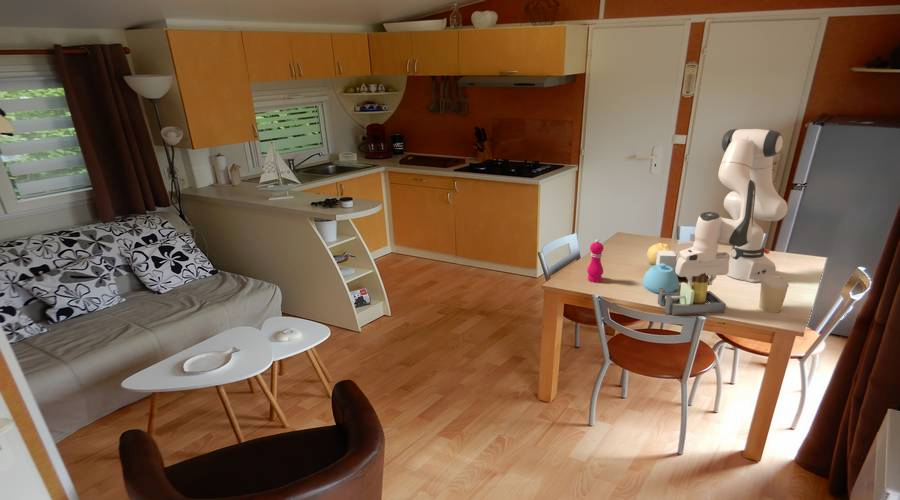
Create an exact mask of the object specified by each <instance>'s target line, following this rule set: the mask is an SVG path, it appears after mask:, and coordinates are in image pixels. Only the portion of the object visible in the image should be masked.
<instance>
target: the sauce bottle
mask: <svg viewBox="0 0 900 500" xmlns="http://www.w3.org/2000/svg"><path fill="white" fill-rule="evenodd" d="M690 279H691V278H690ZM709 279H710V277H709V276H706V274H705V273H704V274H701V275H699V276H692V279H691V281H693V282H694V284H693V286H689V287H690V288H691V289H692V290H694V291H695V292H694V299H693V304H704V303H706V302H707V301H706V295H707V291H708V287H709V285H708V280H709Z"/></svg>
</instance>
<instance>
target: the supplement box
mask: <svg viewBox="0 0 900 500" xmlns="http://www.w3.org/2000/svg"><path fill="white" fill-rule="evenodd" d="M660 263H664V264H666V265H667V266H670V267H672V268H673V270H674V271H675V269H676V264H677V254H676V252H675V251H674V250H672V251H657V259H656V265H659V264H660Z"/></svg>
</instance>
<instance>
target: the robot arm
mask: <svg viewBox="0 0 900 500" xmlns="http://www.w3.org/2000/svg"><path fill="white" fill-rule="evenodd" d="M783 138H784V137H783V135H782V134H781V132H780V131H777V130H773V129H770V130H767V129H763V128H744V129H743V128H741V129H739V128H733V129H729V130H727V131H726V132H725V133H724V134H723V137H722V139H721V140H722V141H721V149H722V151H723V152H724V154H723V156H722V160H721V162H720V164H719V165H720V166H719V169H718V174H717V175H718V176H717V178H718V180H719V181H720V183H721V185H723V186H724V187H726V188H727V189H729V190H731V191H730V192H728V194H726V196H725V197H724V200H723V208H724V209H725V211H726V212H727V213H728V214H729V215H730V216H731V218H732V219H731V218H726V217H722V216H721V215H720V214H719V213H717V212H715V211H714V212H713V211H705V212H702V213H700V214H699V216H698V217H697V221H696V224H695V228H694V242H693V244H692V246H690V247H688V248H685V249H682V250H680V251H679V254H678V255H679V256H680V257H678V258H677V259H676V266H675V273H676V275H677V277H680V278H684V277H685V278H686V280H687V285H688V286H689V287H691V286H693V284H694V282H693V281H691V279H692V276H699V275H701V274H704V273H705V274H706V276H708V277H709V276H710V277H709V280H708V286H712V285H713V282H714V280H715V279H716V278H717V276H726V275H727V276H729V277H731V278H734V279H736V280H740V281H746V282H749V283H753V284H755V283H761V280H762V279H763V278H765V277H776V278H781V275H780V273H778V271H777V270H776V264H775V263H774V262H773V261H772V260H771V259H769V258H768V257H767V256H766V255H768V254H769V255H770V249H768V248H764V247H763V242H764V241H763V240H764V237H765V236H764V235H765V233H764V230H763V228H762V227H761V226H760V225H758V224H757V223H756V221H755V219H757V220H761V221H765V222H766V221H768V222H769V221H770V222H779V221H780V220H782V219H783V218H784V217H785V216H786V214H787V212H788V204H787V201H786V200H785V199H784V198H782V197H781V196H780V194H779V193H778V192H777V191H776V188H775V187H774V184H773V162H774V161H773V160H774V157H775V156H776V155H778V154H779V153H780V151H781V149H782V147H783V143H784V142H783ZM718 243H724V244H729V245H731V246H732V247H731V256H730V254H729V253H728V252H726V251H725V252H718V247H719V245H718ZM765 254H766V255H765Z"/></svg>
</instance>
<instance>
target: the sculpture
mask: <svg viewBox="0 0 900 500" xmlns="http://www.w3.org/2000/svg"><path fill="white" fill-rule="evenodd" d="M657 251H673V249H672V248H671V246H669V245H668V244H667V243H662V242H658V243H656V244H653V245H651V246H650V247H649V248H648V250H647V253H646V259H647V261H648V263H650V264H651V265H652V266H654V265H656V259H657Z"/></svg>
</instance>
